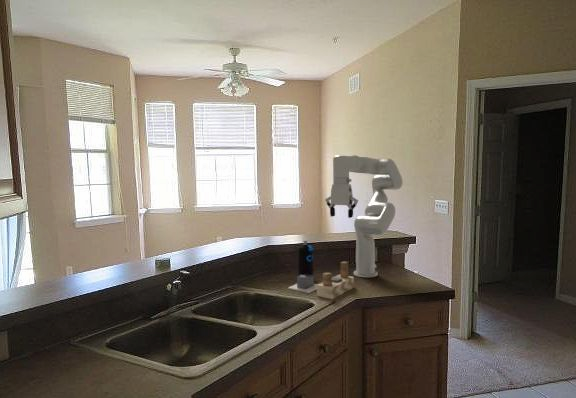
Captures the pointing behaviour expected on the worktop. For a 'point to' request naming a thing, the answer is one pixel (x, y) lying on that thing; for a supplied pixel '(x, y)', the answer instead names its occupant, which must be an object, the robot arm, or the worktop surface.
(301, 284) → the lever cap
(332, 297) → the cream pegged block
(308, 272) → the aerosol can
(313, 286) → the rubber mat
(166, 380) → the worktop surface
